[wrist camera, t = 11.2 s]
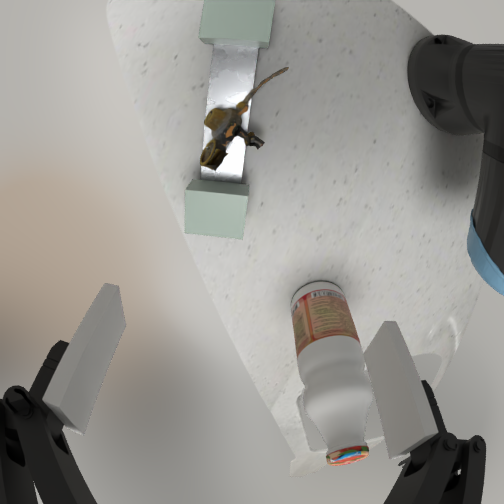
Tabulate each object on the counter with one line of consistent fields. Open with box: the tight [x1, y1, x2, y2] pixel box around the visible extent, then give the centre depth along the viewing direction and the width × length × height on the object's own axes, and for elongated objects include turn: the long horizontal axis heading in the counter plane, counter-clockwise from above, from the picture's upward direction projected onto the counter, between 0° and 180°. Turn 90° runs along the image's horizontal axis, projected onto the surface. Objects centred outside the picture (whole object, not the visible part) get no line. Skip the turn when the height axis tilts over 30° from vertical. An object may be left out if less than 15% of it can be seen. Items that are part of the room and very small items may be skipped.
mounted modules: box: [185, 0, 275, 240], centre depth 28 cm, size 7×28×4 cm, turn 173°
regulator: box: [200, 67, 289, 171], centre depth 29 cm, size 8×4×15 cm
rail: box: [201, 44, 259, 184], centre depth 31 cm, size 5×28×2 cm, turn 173°
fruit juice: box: [291, 281, 373, 466], centre depth 35 cm, size 9×9×28 cm
